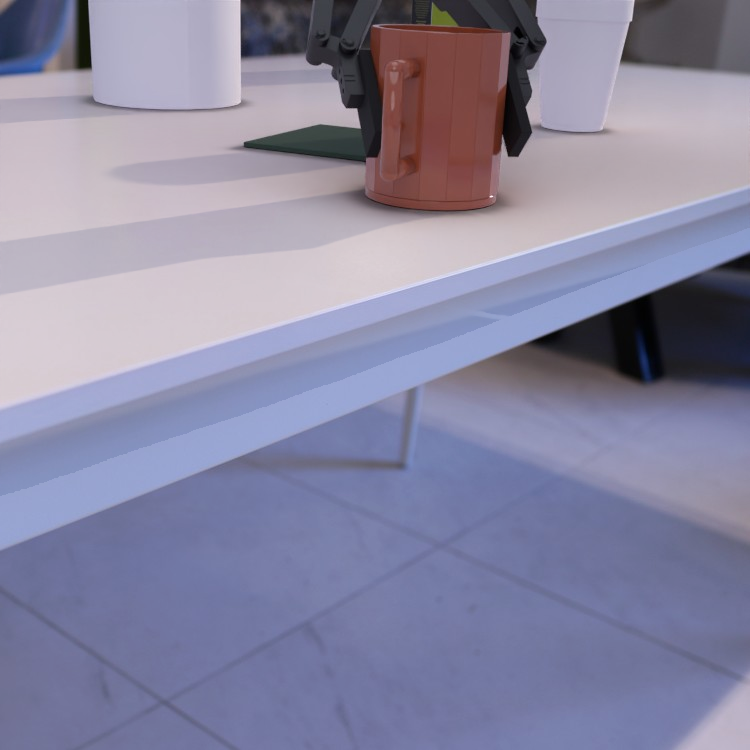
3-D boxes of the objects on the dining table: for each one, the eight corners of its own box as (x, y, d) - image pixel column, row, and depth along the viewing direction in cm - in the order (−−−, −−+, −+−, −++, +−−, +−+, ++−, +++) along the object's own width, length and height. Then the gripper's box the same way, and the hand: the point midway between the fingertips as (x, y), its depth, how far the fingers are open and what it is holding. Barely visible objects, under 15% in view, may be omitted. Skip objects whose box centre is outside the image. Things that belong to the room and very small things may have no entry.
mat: (456, 143, 96) (456, 138, 95) (395, 164, 84) (395, 159, 83) (319, 128, 101) (319, 124, 101) (243, 146, 89) (243, 142, 89)
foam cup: (544, 133, 103) (557, -7, 99) (513, 120, 112) (524, -10, 107) (633, 134, 105) (651, -3, 101) (596, 121, 114) (611, -6, 109)
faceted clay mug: (396, 178, 78) (404, 22, 74) (512, 193, 75) (527, 30, 71) (319, 208, 67) (323, 28, 63) (451, 227, 64) (464, 37, 60)
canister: (186, 89, 127) (181, -92, 120) (270, 104, 116) (271, -93, 109) (65, 95, 116) (53, -103, 109) (146, 113, 106) (138, -106, 98)
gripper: (514, -64, 83) (580, 176, 74) (237, -79, 77) (275, 179, 69) (548, -144, 76) (626, 109, 68) (248, -167, 70) (292, 107, 62)
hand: (449, 144), depth 68 cm, fingers closed on faceted clay mug, 9 cm apart
